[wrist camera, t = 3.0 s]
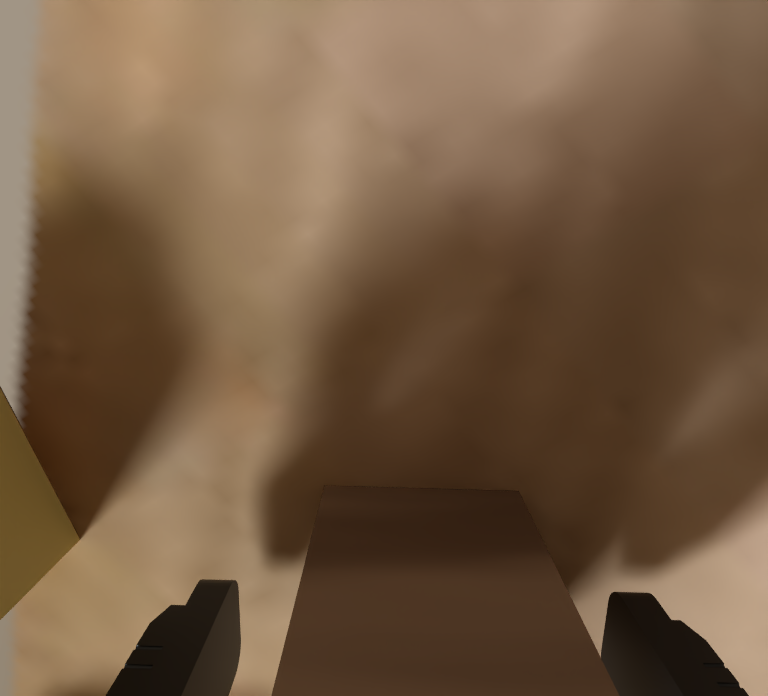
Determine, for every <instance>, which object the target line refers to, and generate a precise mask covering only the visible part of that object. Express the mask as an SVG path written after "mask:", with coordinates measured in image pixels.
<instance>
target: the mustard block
mask: <svg viewBox="0 0 768 696" xmlns="http://www.w3.org/2000/svg"><path fill="white" fill-rule="evenodd" d="M79 540H80V539H79V537H78V535H77V533H76V531H75V529H74V527H73V525H72V523H71V522H70V520H69V518H68V516H67V514H66V512H65V510H64V508H63V506H62V504H61V503H60V501H59V499H58V497H57V495H56V493H55V491H54V489H53V487H52V485H51V484H50V482H49V480H48V478H47V476H46V474H45V472H44V470H43V468H42V466H41V465H40V463H39V461H38V459H37V457H36V455H35V453H34V451H33V449H32V447H31V446H30V444H29V442H28V440H27V438H26V436H25V434H24V432H23V430H22V428H21V427H20V425H19V423H18V421H17V419H16V415H15V413H14V411H13V409H12V407H11V405H10V403H9V402H8V400H7V398H6V396H5V394H4V392H3V390H2V388H1V387H0V620H1V618H3V617H4V616H5V615H6V614H7V613H8V612H9V611H10V610H11V609H12V608H13V607H14V606H15V605H16V604H17V603H18V602H19V601H20V600H21V599H22V598H23V597H24V596H25V595H26V594H27V593H28V592H29V591H30V590H31V589H32V588H33V587H34V586H35V584H36V583H37V582H38V581H39V580H40V579H41V578H42V577H43V576H44V575H45V574H46V573H47V572H48V571H49V570H50V569H51V568H52V567H53V566H54V565H55V564H56V563H57V562H58V561H59V560H60V559H61V558H62V557H63V556H64V555H65V554H66V553H67V552H68V551H69V550H70V549H71V548H72V547H73V546H74V545H75V544H76V543H77V542H78V541H79Z"/></svg>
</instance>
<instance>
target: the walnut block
mask: <svg viewBox="0 0 768 696" xmlns="http://www.w3.org/2000/svg"><path fill="white" fill-rule="evenodd" d="M272 696H619V694H618V692H617V690H616V688H615V686H614V684H613V682H612V680H611V678H610V676H609V674H608V672H607V669H606V667H605V665H604V663H603V661H602V659H601V657H600V655H599V653H598V651H597V649H596V647H595V645H594V643H593V641H592V639H591V637H590V635H589V633H588V631H587V629H586V627H585V625H584V623H583V621H582V619H581V617H580V615H579V613H578V611H577V609H576V607H575V605H574V603H573V601H572V599H571V597H570V595H569V593H568V591H567V588H566V586H565V584H564V582H563V580H562V578H561V576H560V574H559V572H558V570H557V568H556V566H555V564H554V562H553V560H552V558H551V556H550V554H549V552H548V550H547V548H546V546H545V544H544V542H543V540H542V538H541V536H540V534H539V532H538V530H537V528H536V526H535V524H534V522H533V520H532V518H531V516H530V514H529V512H528V510H527V508H526V505H525V503H524V501H523V499H522V497H521V495H520V493H519V491H499V490H464V489H428V488H393V487H357V486H324V489H323V493H322V497H321V501H320V505H319V509H318V513H317V517H316V521H315V525H314V529H313V533H312V537H311V541H310V545H309V549H308V553H307V557H306V561H305V565H304V569H303V573H302V577H301V581H300V585H299V588H298V592H297V596H296V600H295V604H294V608H293V612H292V616H291V620H290V624H289V628H288V632H287V636H286V640H285V644H284V648H283V652H282V656H281V660H280V664H279V668H278V672H277V676H276V680H275V684H274V688H273V692H272Z"/></svg>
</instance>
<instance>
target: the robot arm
mask: <svg viewBox="0 0 768 696" xmlns="http://www.w3.org/2000/svg"><path fill="white" fill-rule="evenodd" d="M240 647H241V634H240V612H239V591H238V584H237V581H236V580H204V579H202V580H200V581H199V582H198V584H197V585H196V587H195V589H194V591H193V593H192V594H191V596H190V598H189V600H188V602H187V604H186V605H171V606H169V607H168V608H167V609H166V610H165V611H164V612H162V613H161V614H160V615H159V616H158V617H157V618H155V619H154V620H153V621H152V622H151V623H150V624H149V626H148V627H147V629H146V630H145V632H144V634H143V635H142V637H141V639H140V640H139V642H138V644H137V645H136V650H133V652H132V653H131V655H130V657H129V658H128V660H127V662H126V663H125V667H124V669H122V670H121V672H120V673H119V675H118V676H117V678H116V680H115V681H114V683H113V685H112V686H111V688H110V690H109V691H108V693H107V694H106V696H228V695H229V692H230V689H231V686H232V684H233V681H234V678H235V675H236V671H237V667H238V662H239V656H240ZM601 659H602V661H603V663H604V665H605V667H606V669H607V672H608V674H609V676H610V678H611V680H612V682H613V684H614V686H615V688H616V690H617V692H618V694H619V696H749V695H748V694H747V693H746V691H745V690H744V689H743V688H740V686H739V682H738V681H737V680H736V679H735V677H734V676H733V675H732V673H731V672H730V671H729V669H728V668H725V667H724V663H723V662H722V660H721V659H720V658H719V657H718V655H717V654H716V653H715V651H714V650H713V649H712V647H711V646H710V645H709V644H708V642H707V641H706V640H705V639H704V638H702V637H701V636H700V635H699V634H697V633H696V632H695V631H694V630H692V629H691V628H690V627H688V626H687V625H686V624H685V623H683V622H682V621H681V620H671V619H670V618H669V616H668V615H667V613H666V612H665V611H664V609H663V608H662V607H661V605H660V604H659V602H658V601H657V600H656V598H655V597H654V596H653V595H652V594H650V593H634V592H613V593H611V595H610V597H609V601H608V608H607V615H606V622H605V629H604V636H603V643H602V650H601Z"/></svg>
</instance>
